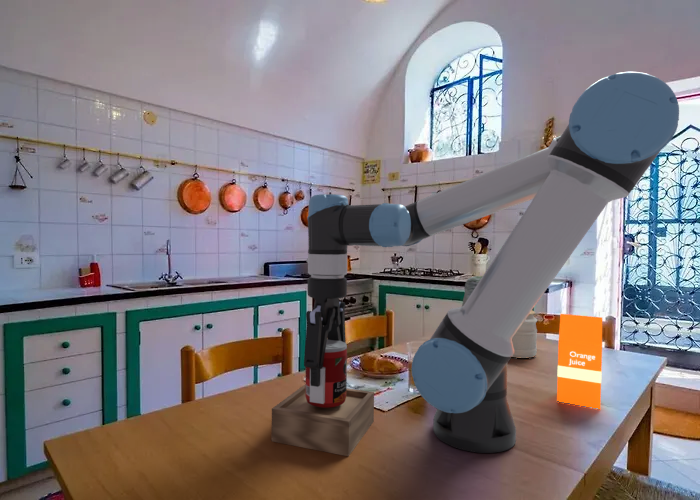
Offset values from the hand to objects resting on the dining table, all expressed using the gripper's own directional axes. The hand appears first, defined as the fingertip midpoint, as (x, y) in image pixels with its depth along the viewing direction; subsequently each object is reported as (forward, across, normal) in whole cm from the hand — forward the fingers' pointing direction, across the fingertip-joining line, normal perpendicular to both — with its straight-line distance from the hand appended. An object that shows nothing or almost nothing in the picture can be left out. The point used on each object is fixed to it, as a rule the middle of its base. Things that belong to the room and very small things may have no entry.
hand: (326, 394), depth 82 cm
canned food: (+1, 0, 0) cm, 1 cm away
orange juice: (+7, -36, +49) cm, 61 cm away
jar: (+7, -74, +36) cm, 83 cm away
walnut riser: (+7, 0, 0) cm, 7 cm away
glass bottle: (+7, -38, +26) cm, 47 cm away
